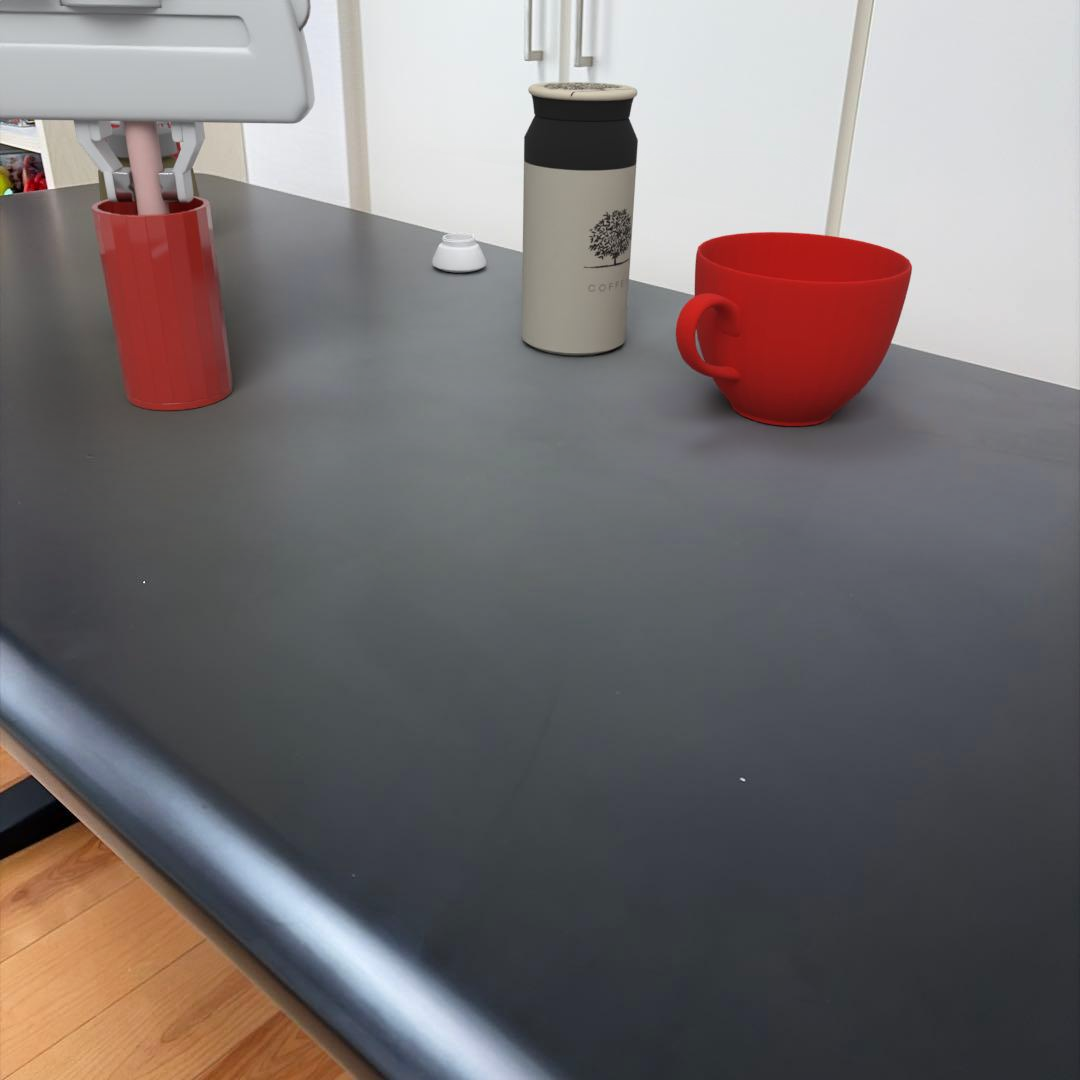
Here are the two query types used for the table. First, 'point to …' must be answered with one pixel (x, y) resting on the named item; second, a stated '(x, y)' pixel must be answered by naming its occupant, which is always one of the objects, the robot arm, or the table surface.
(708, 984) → the table surface
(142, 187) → the straw
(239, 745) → the table surface
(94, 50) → the robot arm
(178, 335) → the red tumbler
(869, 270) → the ceramic cup
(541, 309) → the travel mug
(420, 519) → the table surface
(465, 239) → the lidless jar
